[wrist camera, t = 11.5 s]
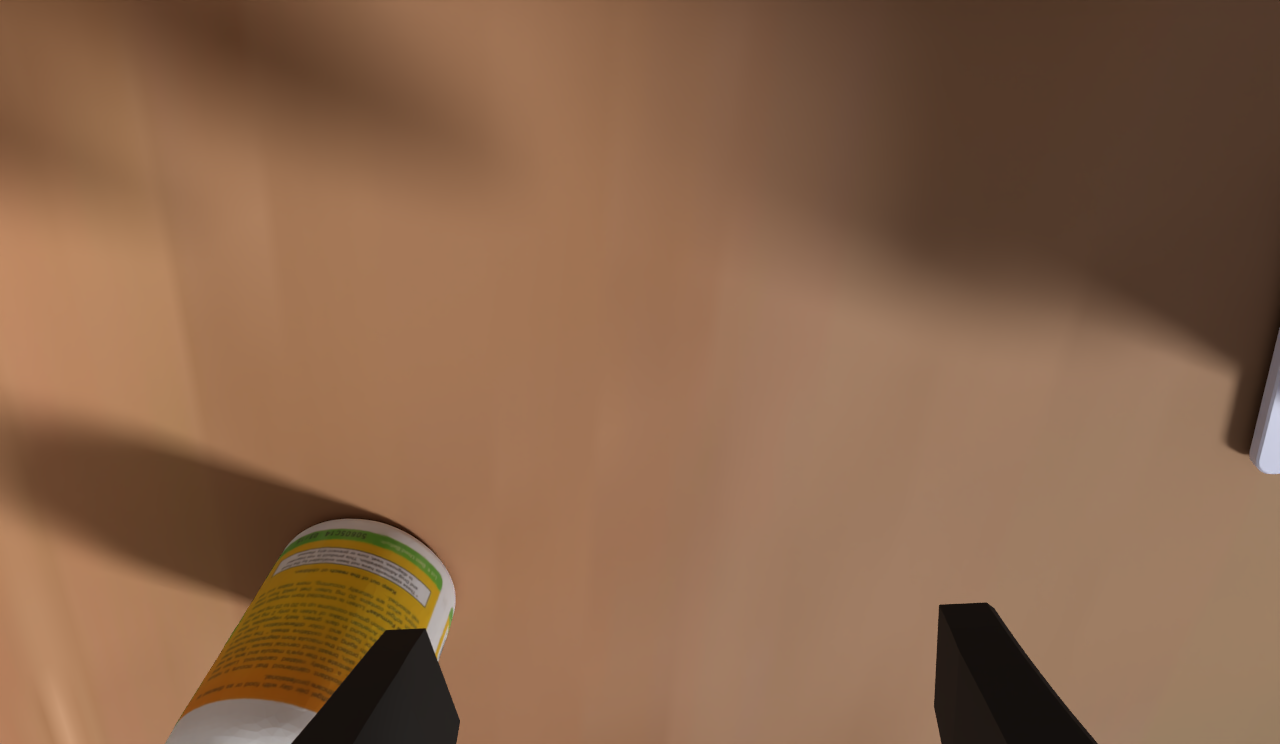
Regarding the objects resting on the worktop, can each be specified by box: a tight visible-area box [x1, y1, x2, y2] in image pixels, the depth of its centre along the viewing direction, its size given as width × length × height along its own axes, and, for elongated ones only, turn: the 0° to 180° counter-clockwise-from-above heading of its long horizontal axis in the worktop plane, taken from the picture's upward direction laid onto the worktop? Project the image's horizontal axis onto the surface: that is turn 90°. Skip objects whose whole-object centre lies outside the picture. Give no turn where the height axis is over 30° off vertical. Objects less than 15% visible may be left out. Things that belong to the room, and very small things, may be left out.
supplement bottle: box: [165, 519, 455, 744], centre depth 22 cm, size 5×5×10 cm
